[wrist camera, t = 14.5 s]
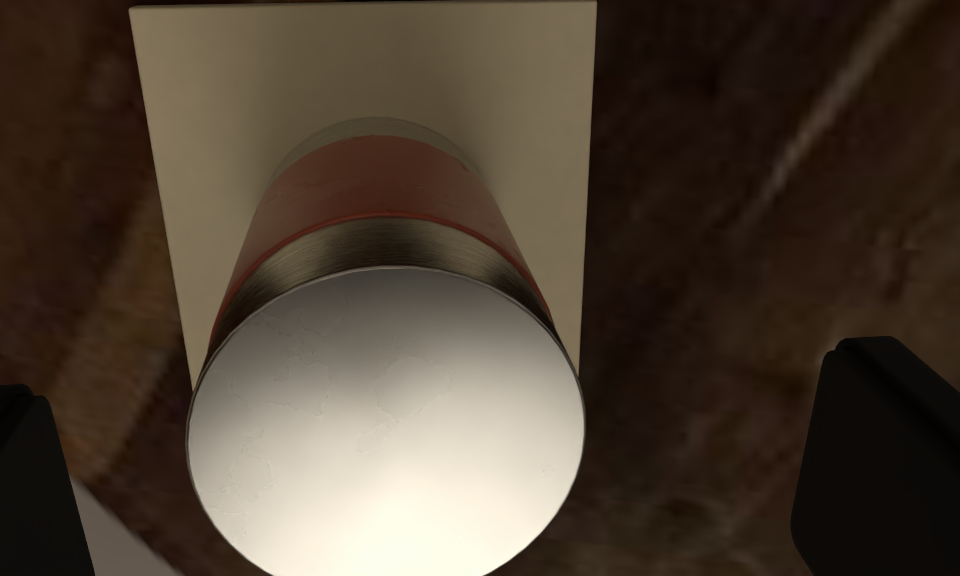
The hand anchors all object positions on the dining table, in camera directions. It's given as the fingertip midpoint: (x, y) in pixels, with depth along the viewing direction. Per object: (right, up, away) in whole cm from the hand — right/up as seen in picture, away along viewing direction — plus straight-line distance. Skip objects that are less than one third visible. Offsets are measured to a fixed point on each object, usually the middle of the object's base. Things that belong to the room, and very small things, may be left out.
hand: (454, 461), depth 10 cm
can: (-2, +3, +10) cm, 10 cm away
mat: (-2, +4, +10) cm, 11 cm away
